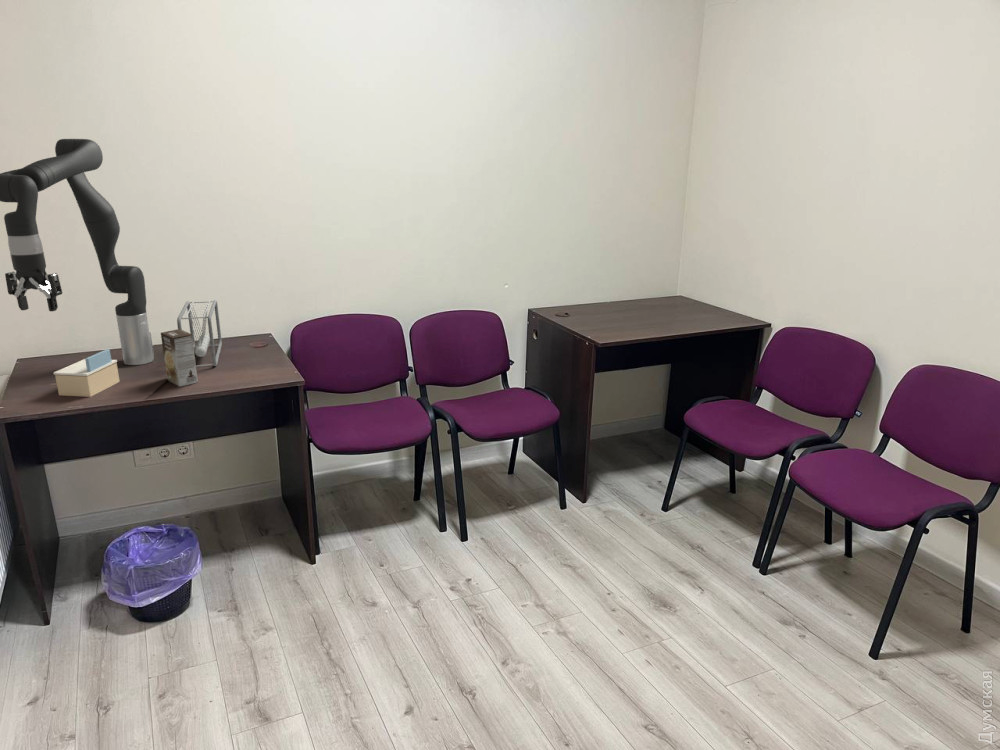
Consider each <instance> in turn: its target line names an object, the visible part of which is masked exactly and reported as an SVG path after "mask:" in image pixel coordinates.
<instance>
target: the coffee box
mask: <svg viewBox="0 0 1000 750" xmlns="http://www.w3.org/2000/svg"><path fill="white" fill-rule="evenodd" d="M160 337H161V345H162V352H163V359H164V367H165V372H166V373H165V374H166V379H167V381H168V382H170V383H172V384H174V385H175V386H177V387H180V388H181V387H184V386H188V385H192V384H197V383H199V382H198V373H197V372H198V371H197V367H196V364H197V363H196V357H195V355H196V354H195V348H194V347H193V338H192V334H191V333H190V332H187V331H186V330H183V329H182V330H181V329H178V328H176V329H173V330H168V331H163V332H160Z"/></svg>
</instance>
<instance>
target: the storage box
mask: <svg viewBox="0 0 1000 750" xmlns="http://www.w3.org/2000/svg"><path fill="white" fill-rule="evenodd" d="M118 369H119V368H118V363H117V362H116V363H114V364H112V365H109V366H107V367H105V368H103V369H101V370H99V371H97V372H95V373H92V374H90V375H88V376H75V375H54V377H55V381H56V382H55V383H56V386H57V387H56V388H57V391H58V396H69V397H88V398H89V397H91V398H92V397H93V396H95V395H97V394H99V393H101V392H103V391H105V390H107V389H108V388H110V387H112V386H114V385H116V384H118V383H120V382H121V381H120V377H119V370H118Z"/></svg>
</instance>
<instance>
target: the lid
mask: <svg viewBox="0 0 1000 750" xmlns="http://www.w3.org/2000/svg"><path fill="white" fill-rule="evenodd" d="M117 362H118V359H112V356H111V350H110V349H109V348H108V349H104V350H102V351H100V352H97V353H95V354H92V355H90V356H88V357H86V358H83V359H82V360H78V361H77V362H75V363H72V364H70V365H68V366H66V367H63V368H61V369H57V370H56V371H54V372H53V375H54V376H55V375H75V376H88V375H90V374H92V373H95V372H97V371H99V370H101V369H103V368H105V367H107V366H109V365H112V364H114V363H117Z"/></svg>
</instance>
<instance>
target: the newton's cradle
mask: <svg viewBox="0 0 1000 750" xmlns="http://www.w3.org/2000/svg"><path fill="white" fill-rule="evenodd" d="M205 303H207V304H206V306H205V308H204V309H201V311H203V310H205V311H203V314H197V312H196V309H198V308H203V307H201V306H198V304H205ZM210 303H212V304H211V307H210V310H209V311H208V309H209V306H210ZM196 304H197V305H196ZM195 306H197V307H195ZM186 311H187V313H186V315H185V317H183V316H184V314H185V312H186ZM214 313H215V315H214V316H215V320H216V321H215V322H216V324H215V325H216V332H217V339H218V340H217V341H218V344H215V343H214V342H215V340H214V333H213V332H214V331H213V325H212V317H213V314H214ZM199 315H200V316H199ZM201 315H203V316H202V317H201ZM219 315H220V313H219V306H218V301H217V299H214V300H209V301H191V302H190V301H188V300H187V301H185V303H184V305H183V307H182V310H181V311H180V313H179V315H178V317H177V319H176V323H177V325H176V326H177V329H181V330H183V328H182V320H188V324H189V325H188V326H189V333H190V334H192V338H193V347H194V355H196V357H201V358H202V357H205V356H206V354H207V351H208V348H209V347H210V351H211V352H210V353H211V360H212V364H211V363H210V364H209V363H208V364H200V365H199V364H197V365H196V368H197V367H207V366H208V367H209V366H213V367H217V366H218V362H219V358H220V355H219V354H221V350H222V347H223V346H222V345H223V342H222V333H221V332H222V331H221V324H220V322H221V321H220V316H219ZM199 319H202V321H203V322H202V325H200V322H199ZM206 323H207V324H206ZM201 326H202V327H201ZM207 326H208V334H209V335H208V334H206V330H207V329H206V328H207ZM198 330H199V331H198ZM196 342H197V343H196ZM215 347H217V350H216V352H215Z"/></svg>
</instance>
